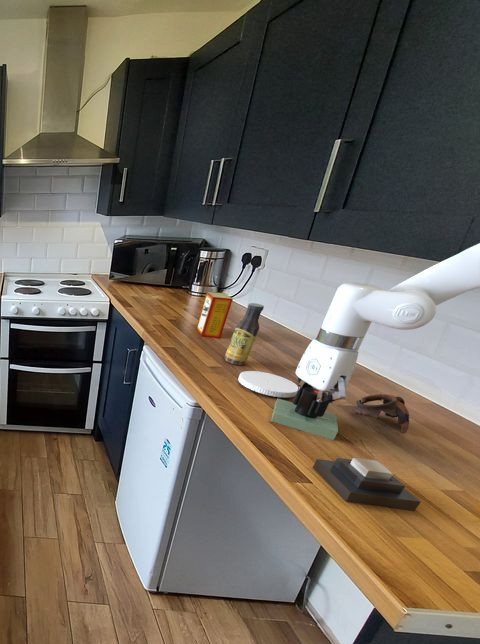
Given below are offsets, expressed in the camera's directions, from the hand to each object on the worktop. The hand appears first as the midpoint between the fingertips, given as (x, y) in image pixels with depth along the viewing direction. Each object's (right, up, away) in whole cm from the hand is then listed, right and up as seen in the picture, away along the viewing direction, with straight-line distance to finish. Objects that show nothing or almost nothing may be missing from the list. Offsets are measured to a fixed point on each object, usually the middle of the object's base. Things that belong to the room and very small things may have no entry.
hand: (307, 409), depth 97 cm
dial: (0, -1, 0) cm, 1 cm away
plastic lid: (+3, +4, +18) cm, 19 cm away
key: (-7, -10, -22) cm, 25 cm away
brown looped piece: (+21, -4, +3) cm, 22 cm away
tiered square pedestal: (-7, -13, -20) cm, 25 cm away
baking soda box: (+14, +24, +63) cm, 69 cm away
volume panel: (0, -3, +2) cm, 4 cm away
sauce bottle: (+6, +12, +36) cm, 38 cm away
